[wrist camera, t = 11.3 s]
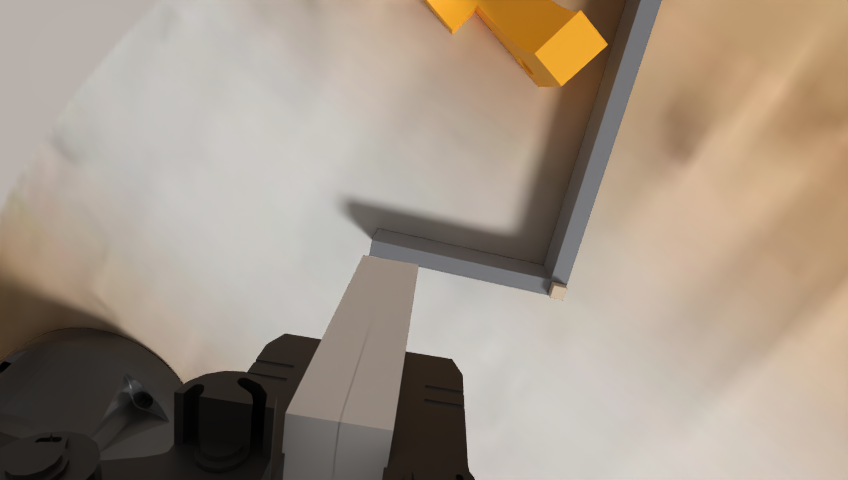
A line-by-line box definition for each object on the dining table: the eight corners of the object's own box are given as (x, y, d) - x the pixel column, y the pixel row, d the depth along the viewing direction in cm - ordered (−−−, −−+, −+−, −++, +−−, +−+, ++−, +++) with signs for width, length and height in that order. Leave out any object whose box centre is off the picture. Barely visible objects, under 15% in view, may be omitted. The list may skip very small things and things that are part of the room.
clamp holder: (375, 242, 32) (367, 258, 29) (447, -131, 25) (446, -160, 22) (554, 282, 32) (564, 302, 29) (671, -80, 25) (699, -102, 22)
